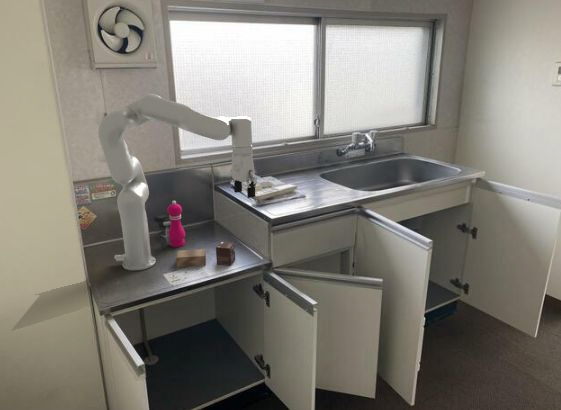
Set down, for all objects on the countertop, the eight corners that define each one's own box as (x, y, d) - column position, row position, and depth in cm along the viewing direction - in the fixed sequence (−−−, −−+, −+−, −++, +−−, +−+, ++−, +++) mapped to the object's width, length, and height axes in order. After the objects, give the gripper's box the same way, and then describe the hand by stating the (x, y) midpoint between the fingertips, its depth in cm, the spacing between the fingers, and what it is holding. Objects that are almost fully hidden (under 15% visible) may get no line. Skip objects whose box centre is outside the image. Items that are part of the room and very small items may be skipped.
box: (231, 265, 173) (230, 248, 171) (216, 264, 174) (215, 247, 172) (235, 259, 178) (234, 242, 176) (221, 258, 180) (220, 241, 178)
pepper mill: (188, 241, 198) (185, 198, 192) (182, 247, 191) (178, 203, 185) (172, 240, 199) (169, 198, 193) (166, 247, 192) (162, 202, 186)
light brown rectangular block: (176, 267, 172) (176, 257, 171) (178, 259, 179) (177, 250, 178) (205, 265, 173) (204, 255, 172) (206, 258, 180) (205, 248, 179)
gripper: (222, 148, 171) (225, 191, 176) (245, 155, 157) (248, 201, 163) (239, 146, 175) (241, 188, 180) (263, 152, 162) (265, 197, 167)
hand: (244, 194), depth 171 cm, fingers open, 9 cm apart
